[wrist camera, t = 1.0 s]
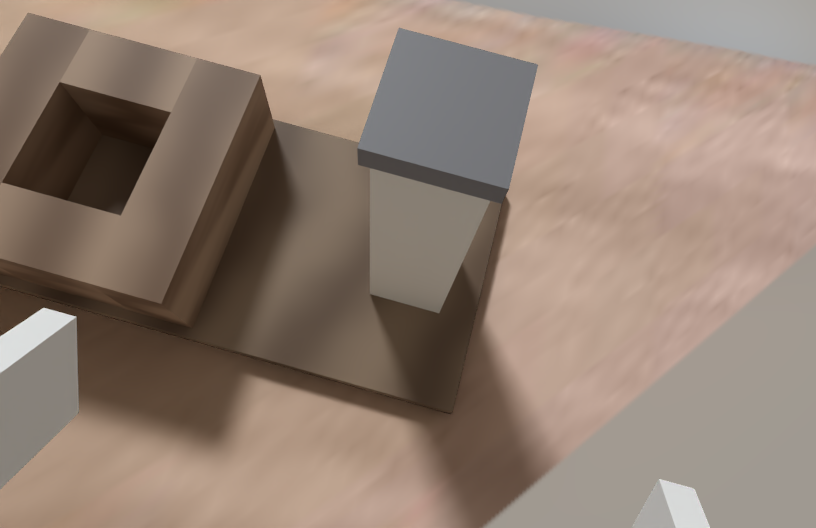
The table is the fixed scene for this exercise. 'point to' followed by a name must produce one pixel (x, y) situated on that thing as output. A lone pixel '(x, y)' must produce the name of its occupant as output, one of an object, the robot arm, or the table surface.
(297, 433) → the table surface
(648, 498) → the robot arm
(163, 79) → the wooden socket base
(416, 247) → the post
